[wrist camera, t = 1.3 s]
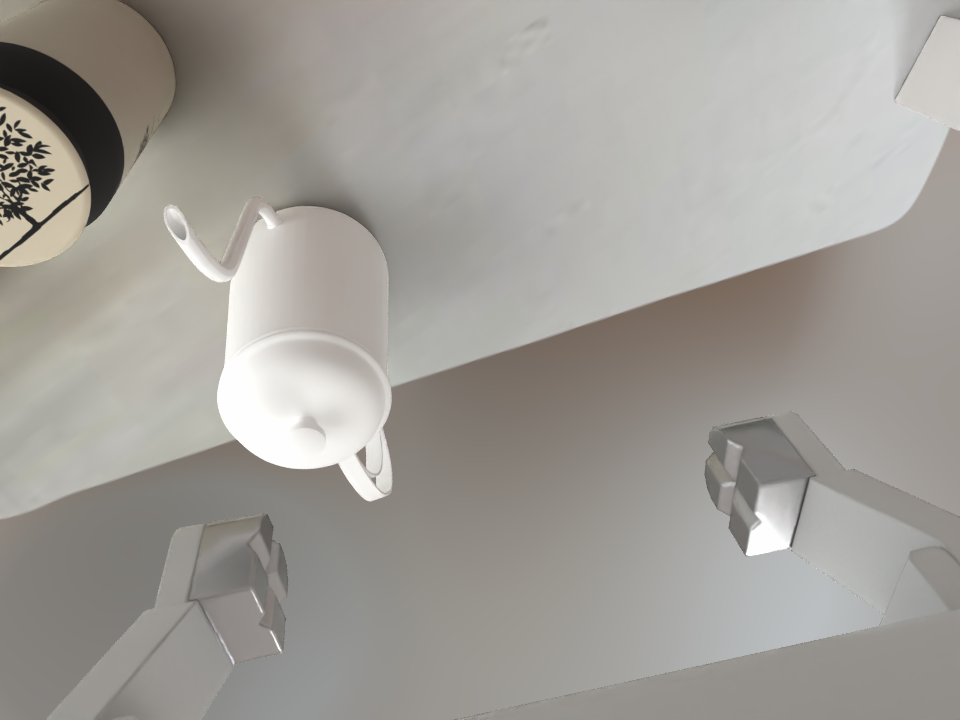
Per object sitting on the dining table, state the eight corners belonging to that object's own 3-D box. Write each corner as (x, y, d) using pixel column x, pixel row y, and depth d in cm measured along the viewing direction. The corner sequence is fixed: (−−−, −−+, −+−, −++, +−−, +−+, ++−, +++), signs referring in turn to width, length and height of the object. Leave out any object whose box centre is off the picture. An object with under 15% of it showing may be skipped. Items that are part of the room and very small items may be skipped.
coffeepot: (299, 66, 42) (282, 180, 27) (437, 366, 57) (475, 545, 42) (137, 130, 43) (33, 277, 28) (316, 410, 58) (311, 603, 43)
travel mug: (-8, 34, 39) (-208, 138, 24) (109, -38, 38) (-27, 26, 23) (98, 157, 43) (-17, 305, 29) (205, 96, 42) (140, 217, 28)
